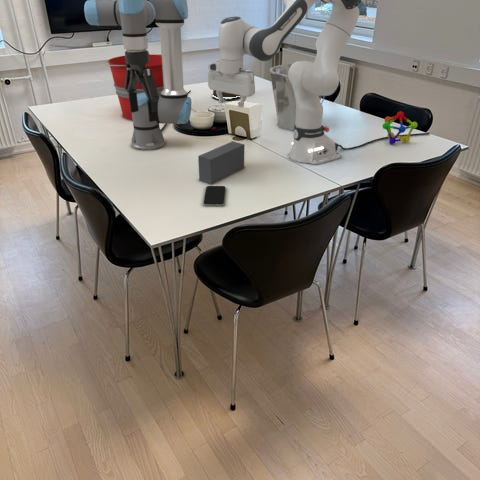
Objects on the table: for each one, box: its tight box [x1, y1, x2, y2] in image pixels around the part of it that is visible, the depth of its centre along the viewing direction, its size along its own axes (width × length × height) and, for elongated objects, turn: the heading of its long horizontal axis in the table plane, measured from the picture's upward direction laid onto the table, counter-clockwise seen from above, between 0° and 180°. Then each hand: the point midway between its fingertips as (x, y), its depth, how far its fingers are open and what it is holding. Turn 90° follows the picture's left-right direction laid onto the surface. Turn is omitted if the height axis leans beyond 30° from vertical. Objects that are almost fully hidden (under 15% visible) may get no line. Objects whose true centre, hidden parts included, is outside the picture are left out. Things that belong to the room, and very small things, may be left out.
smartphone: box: [203, 185, 226, 207], centre depth 161 cm, size 7×1×15 cm
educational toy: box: [382, 110, 418, 145], centre depth 207 cm, size 16×13×15 cm
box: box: [197, 141, 245, 185], centre depth 176 cm, size 21×6×10 cm, turn 142°
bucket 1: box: [104, 53, 164, 121], centre depth 240 cm, size 35×35×30 cm
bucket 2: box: [269, 63, 325, 131], centre depth 226 cm, size 30×30×28 cm
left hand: (143, 116), depth 153 cm, fingers open, 13 cm apart
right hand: (231, 104), depth 169 cm, fingers open, 8 cm apart
